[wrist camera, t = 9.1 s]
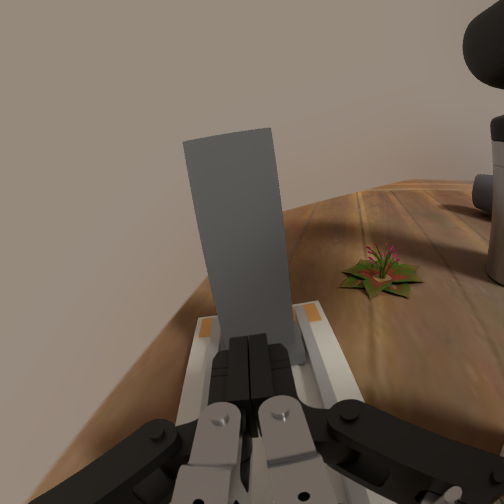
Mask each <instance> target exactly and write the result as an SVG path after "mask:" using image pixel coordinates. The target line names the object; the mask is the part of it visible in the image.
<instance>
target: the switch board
mask: <svg viewBox="0 0 504 504" xmlns="http://www.w3.org/2000/svg"><path fill="white" fill-rule="evenodd" d="M292 308H293V319H294V320H296V323H297V326H298V329H299V333H300V336H301V339H302V343H303V346H304V349H305V362H306V363H303V364H297V365H291V368H292V373H293V377H294V382H295V386H296V391H297V395H298V397H299V399H300V400H301V402H303V403H304V404H305V405H307V406H310V407H313V408H321V409H330V408H331V407H332V406H333V405H334V404H336V403H337V402H339V401H342V400H346V399H356V400H359V401H362V402H364V399H363V397H362V395H361V392H360V390H359V388H358V386H357V383H356V381H355V379H354V377H353V374H352V372H351V370H350V368H349V365H348V363H347V361H346V359H345V357H344V354H343V352H342V350H341V348H340V346H339V343H338V341H337V339H336V337H335V335H334V333H333V331H332V328H331V326H330V324H329V322H328V320H327V318H326V316H325V314H324V311H323V309H322V307H321V305H320V303H319V301H318V300H317V301H312V302H306V303H300V304H294V305H292ZM221 338H222V332H221V328H220V324H219V320H218V315H216V316H208V317H199V318H198V321H197V326H196V330H195V334H194V339H193V343H192V348H191V352H190V357H189V361H188V366H187V370H186V375H185V380H184V385H183V389H182V394H181V399H180V404H179V409H178V414H177V419H176V425H175V426H179V425H182V424H186V423H189V422H192V421H194V420H196V419H198V418H199V415H200V413H201V412H202V410H203V409H204V408H206V407H207V405H208V396H209V387H210V378H211V370H212V360H213V358H214V357H215V355H216V354H217V352H218V351H220V349H221ZM364 403H365V402H364ZM258 434H259V437H257V438H252V444H253V451H252V452H253V466H252V486H251V500H252V504H274V500H273V495H272V490H271V484H270V479H269V474H268V468H267V460H266V454H265V449H264V443H263V438H262V437H260V433H259V429H258ZM324 464H325V467H326V470H327V473H328V476H329V478H330V481H331V484H332V487H333V490H334V493H335V496H336V499H337V502H338V503H341V504H397V503H395V502H393V501H391V500H389V499H387V498H385V497H383V496H381V495H379V494H377V493H375V492H373V491H371V490H369V489H367V488H365V487H363V486H361V485H360V484H358V483H356V482H354V481H352V480H351V479H349V478H347V477H345V476H344V475H342V474H340V473H339V472H337V471H335V470H334V469H332V468H330V467H329V466H328V465H327V464H326V463H324ZM169 504H171V502H170V503H169Z"/></svg>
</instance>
